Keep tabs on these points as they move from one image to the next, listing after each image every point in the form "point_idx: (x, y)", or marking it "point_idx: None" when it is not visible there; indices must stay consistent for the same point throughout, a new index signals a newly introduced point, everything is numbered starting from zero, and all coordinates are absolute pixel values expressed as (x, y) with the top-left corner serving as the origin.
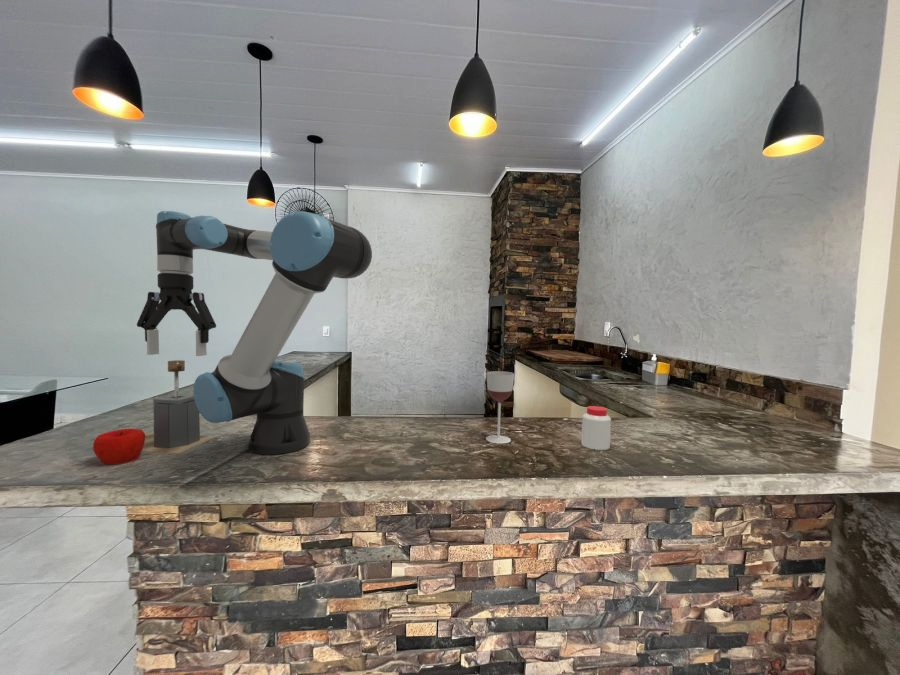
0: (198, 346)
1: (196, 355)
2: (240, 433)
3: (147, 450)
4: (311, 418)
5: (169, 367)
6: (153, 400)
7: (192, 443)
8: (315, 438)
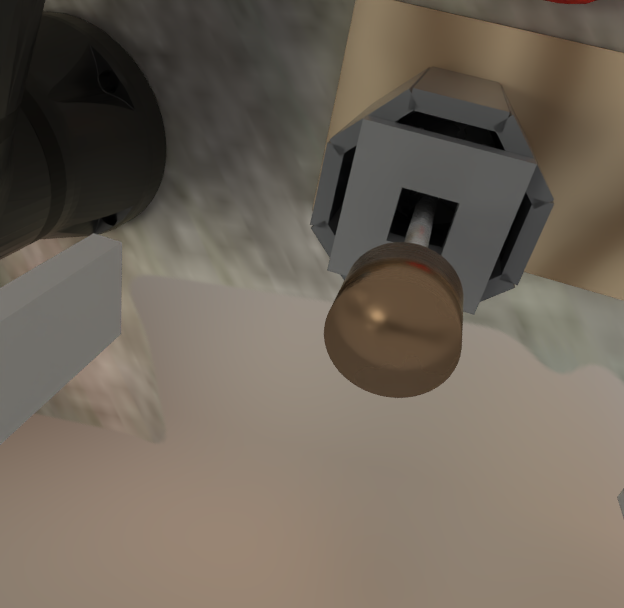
0: (20, 276)
1: (114, 243)
2: (272, 285)
3: (510, 37)
4: (120, 416)
5: (428, 265)
6: (535, 162)
7: None
8: None
